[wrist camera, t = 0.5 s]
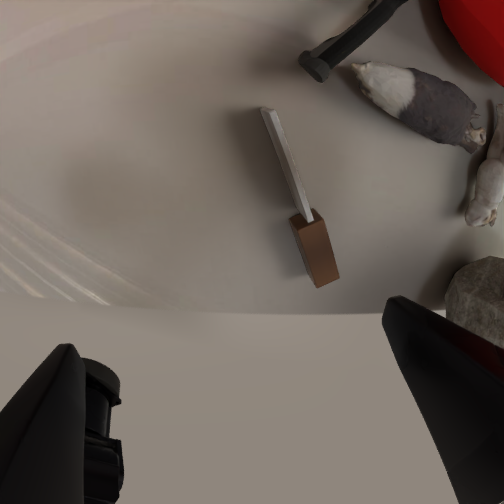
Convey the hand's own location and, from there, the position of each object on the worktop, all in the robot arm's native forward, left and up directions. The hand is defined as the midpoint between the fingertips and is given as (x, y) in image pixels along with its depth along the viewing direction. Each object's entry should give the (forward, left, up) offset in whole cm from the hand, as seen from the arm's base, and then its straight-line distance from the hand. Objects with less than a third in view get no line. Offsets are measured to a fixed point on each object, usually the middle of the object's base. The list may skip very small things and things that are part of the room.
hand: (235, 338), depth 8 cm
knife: (+9, -18, -14) cm, 25 cm away
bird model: (0, -18, -9) cm, 20 cm away
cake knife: (-5, -5, -14) cm, 15 cm away
